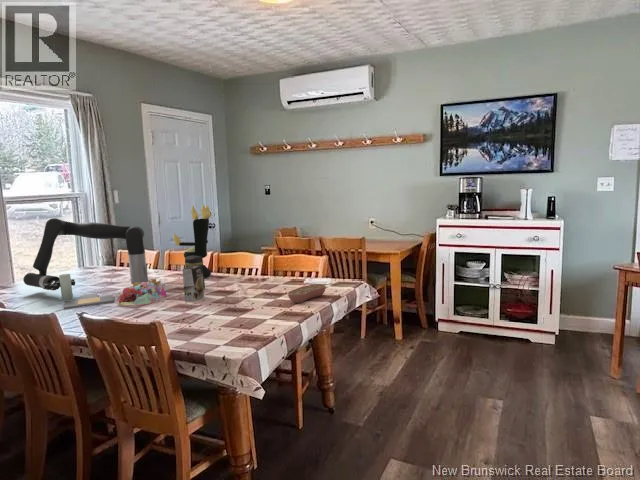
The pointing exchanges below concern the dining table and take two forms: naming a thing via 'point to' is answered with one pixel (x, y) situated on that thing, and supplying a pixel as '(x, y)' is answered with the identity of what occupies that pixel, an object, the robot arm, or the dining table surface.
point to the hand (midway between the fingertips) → (66, 285)
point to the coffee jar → (195, 263)
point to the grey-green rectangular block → (66, 287)
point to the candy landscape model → (142, 294)
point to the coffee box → (193, 283)
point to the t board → (88, 301)
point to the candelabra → (198, 236)
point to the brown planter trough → (306, 292)
